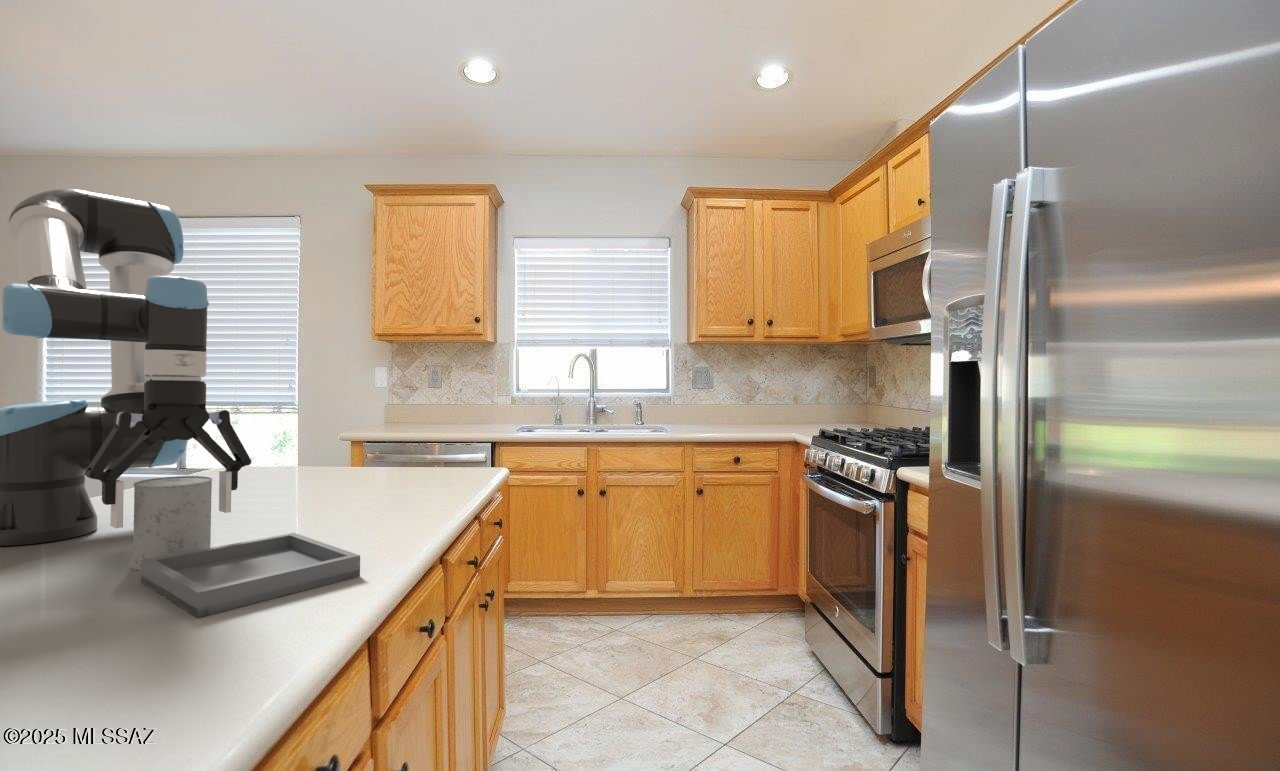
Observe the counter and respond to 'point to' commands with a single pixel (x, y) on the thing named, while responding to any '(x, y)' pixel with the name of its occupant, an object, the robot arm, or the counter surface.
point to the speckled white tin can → (171, 516)
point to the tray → (247, 572)
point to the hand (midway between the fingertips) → (174, 518)
